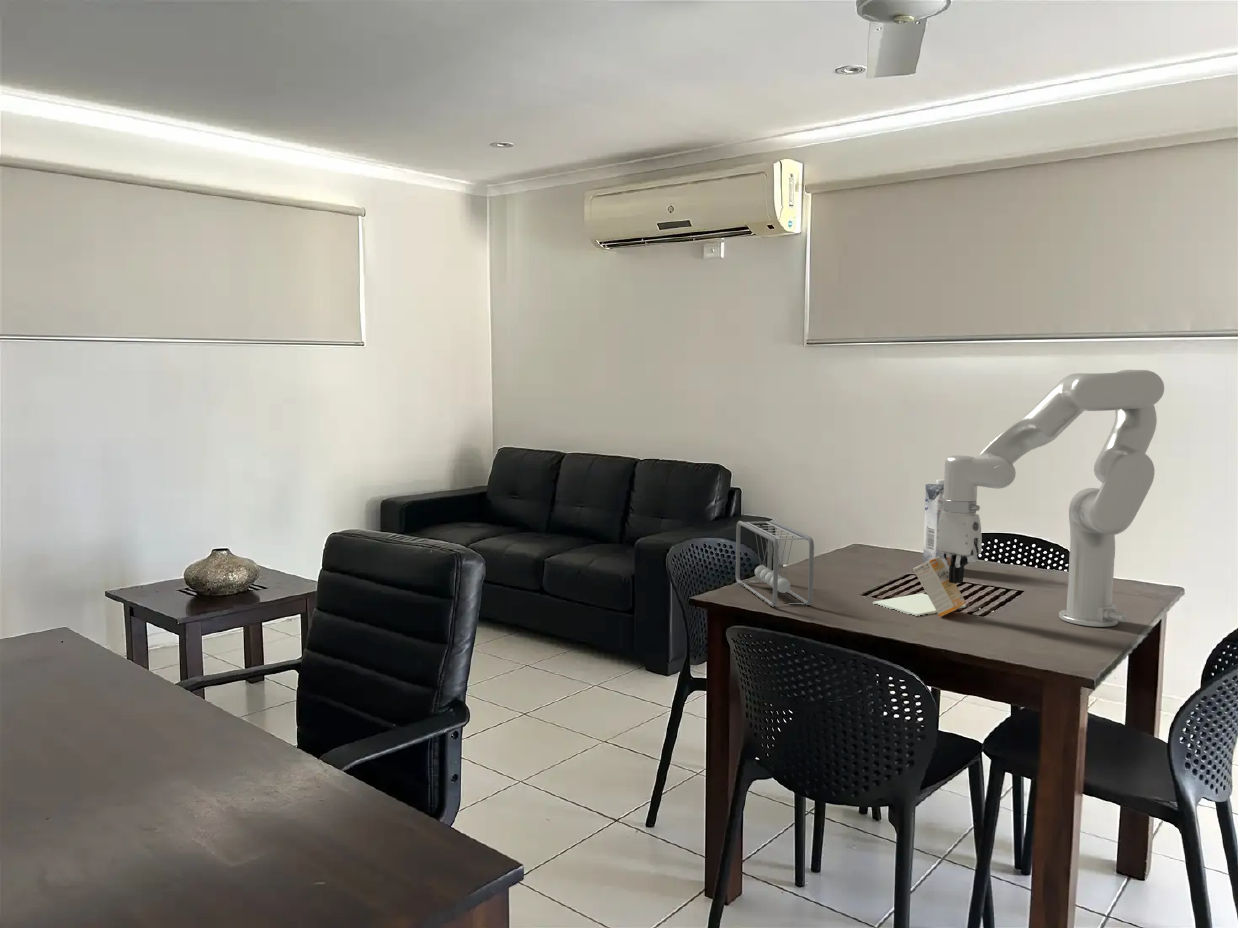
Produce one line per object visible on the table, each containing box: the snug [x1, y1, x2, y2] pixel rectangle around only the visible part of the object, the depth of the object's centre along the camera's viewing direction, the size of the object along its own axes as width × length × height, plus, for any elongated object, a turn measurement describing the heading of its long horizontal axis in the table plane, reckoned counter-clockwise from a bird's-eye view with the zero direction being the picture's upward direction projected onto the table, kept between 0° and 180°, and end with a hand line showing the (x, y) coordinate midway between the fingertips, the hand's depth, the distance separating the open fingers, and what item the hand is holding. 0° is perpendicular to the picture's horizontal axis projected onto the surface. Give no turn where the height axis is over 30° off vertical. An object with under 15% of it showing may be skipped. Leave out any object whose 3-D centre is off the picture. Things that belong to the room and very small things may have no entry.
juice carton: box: [922, 479, 949, 572], centre depth 274 cm, size 9×10×27 cm
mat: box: [872, 592, 967, 617], centre depth 234 cm, size 14×18×1 cm
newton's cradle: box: [735, 519, 815, 607], centre depth 244 cm, size 30×10×18 cm, turn 11°
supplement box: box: [912, 556, 967, 617], centre depth 226 cm, size 8×5×13 cm
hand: (955, 582), depth 223 cm, fingers closed
